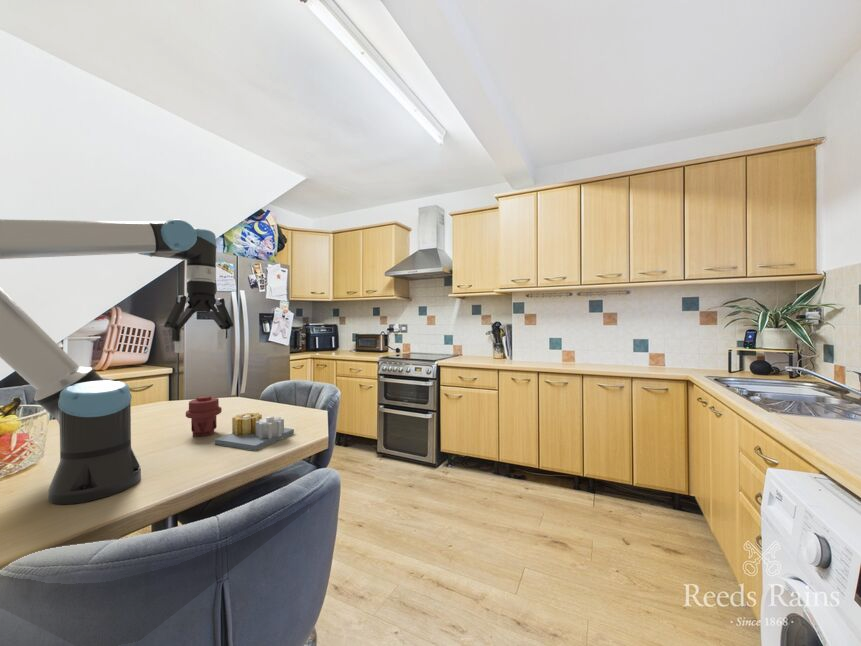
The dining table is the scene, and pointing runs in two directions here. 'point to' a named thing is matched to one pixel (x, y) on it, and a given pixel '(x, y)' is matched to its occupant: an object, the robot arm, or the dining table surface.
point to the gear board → (257, 435)
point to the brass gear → (245, 424)
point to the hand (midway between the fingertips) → (201, 351)
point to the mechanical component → (203, 415)
